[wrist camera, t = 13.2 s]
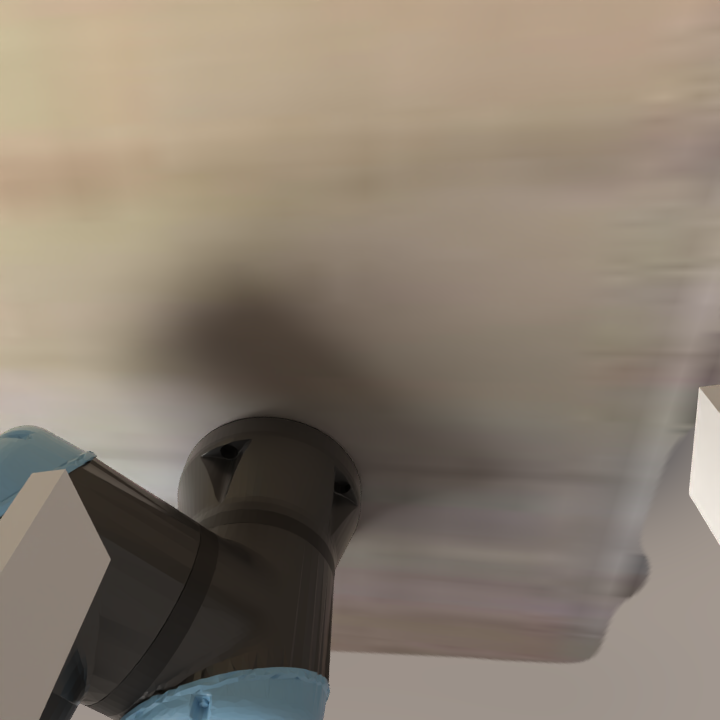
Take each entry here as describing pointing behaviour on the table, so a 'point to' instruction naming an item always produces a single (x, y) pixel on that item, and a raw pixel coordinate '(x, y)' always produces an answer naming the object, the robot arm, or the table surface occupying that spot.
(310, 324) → the table surface
